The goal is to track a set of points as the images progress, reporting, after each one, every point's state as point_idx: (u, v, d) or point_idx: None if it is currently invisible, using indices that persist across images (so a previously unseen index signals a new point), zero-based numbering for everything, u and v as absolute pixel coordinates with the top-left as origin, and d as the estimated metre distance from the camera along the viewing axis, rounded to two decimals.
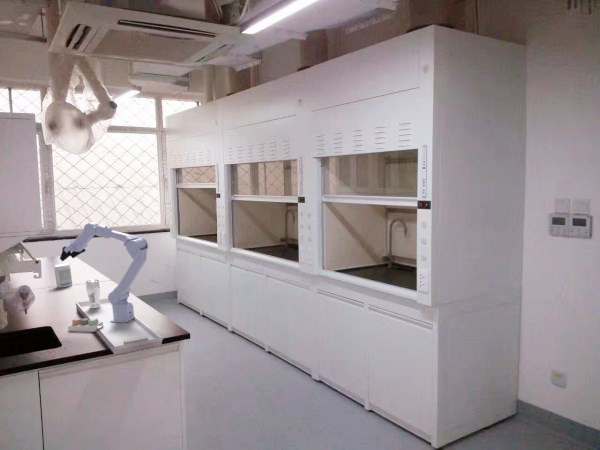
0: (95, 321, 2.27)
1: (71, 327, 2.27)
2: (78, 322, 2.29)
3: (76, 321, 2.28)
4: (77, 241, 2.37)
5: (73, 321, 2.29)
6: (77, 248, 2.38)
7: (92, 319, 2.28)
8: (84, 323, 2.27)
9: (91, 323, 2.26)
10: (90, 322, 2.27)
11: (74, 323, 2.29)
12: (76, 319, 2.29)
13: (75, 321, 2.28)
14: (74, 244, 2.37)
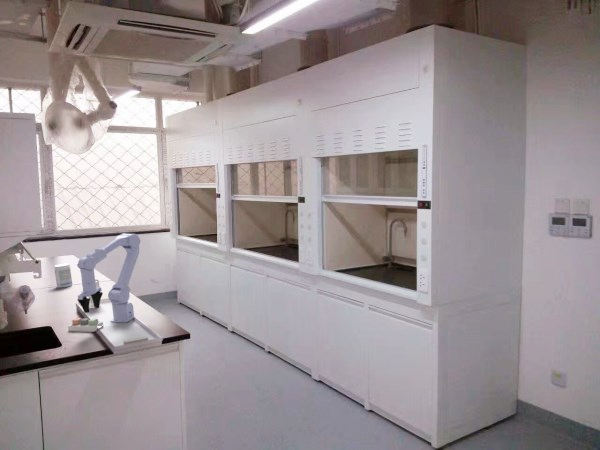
0: (95, 321, 2.27)
1: (71, 327, 2.27)
2: (78, 322, 2.29)
3: (76, 321, 2.28)
4: (84, 284, 2.23)
5: (73, 321, 2.29)
6: (89, 290, 2.23)
7: (92, 319, 2.28)
8: (84, 323, 2.27)
9: (91, 323, 2.26)
10: (90, 322, 2.27)
11: (74, 323, 2.29)
12: (76, 319, 2.29)
13: (75, 321, 2.28)
14: (84, 289, 2.23)
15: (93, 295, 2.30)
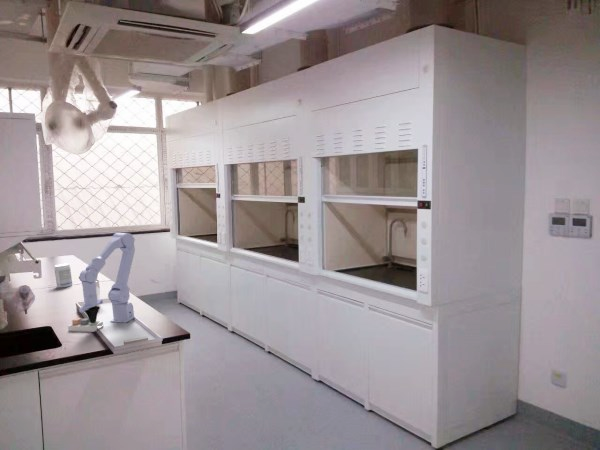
0: (95, 324, 2.27)
1: (71, 327, 2.27)
2: (78, 322, 2.29)
3: (76, 321, 2.28)
4: (85, 297, 2.24)
5: (73, 321, 2.29)
6: (91, 303, 2.24)
7: None
8: (84, 323, 2.27)
9: None
10: None
11: (74, 323, 2.29)
12: (76, 319, 2.29)
13: (75, 321, 2.28)
14: (86, 302, 2.24)
15: None
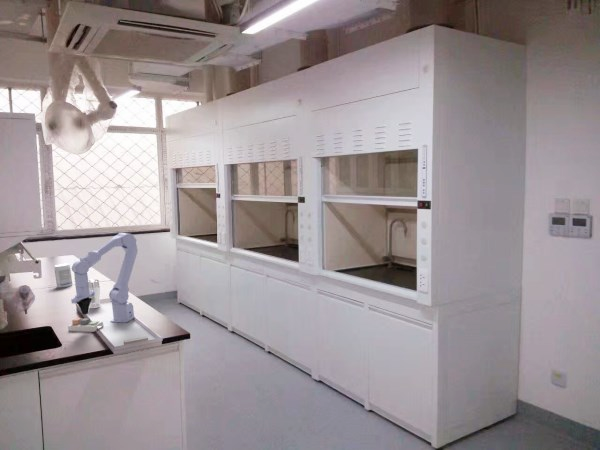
0: (95, 324, 2.27)
1: (71, 327, 2.27)
2: (78, 322, 2.29)
3: (76, 321, 2.28)
4: (77, 288, 2.24)
5: (73, 321, 2.29)
6: (83, 294, 2.24)
7: (92, 322, 2.28)
8: (84, 323, 2.27)
9: None
10: None
11: (74, 323, 2.29)
12: (76, 319, 2.29)
13: (75, 321, 2.28)
14: (78, 293, 2.24)
15: None
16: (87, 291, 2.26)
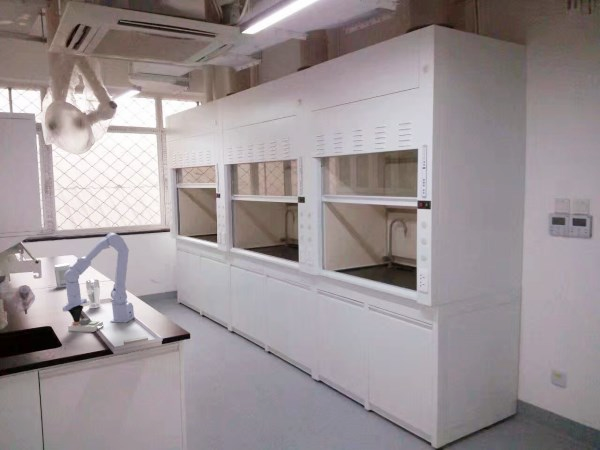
0: (95, 324, 2.27)
1: (71, 327, 2.27)
2: (78, 324, 2.29)
3: (76, 323, 2.28)
4: (69, 296, 2.26)
5: (73, 323, 2.29)
6: (74, 302, 2.26)
7: (92, 322, 2.28)
8: (84, 323, 2.27)
9: None
10: None
11: None
12: None
13: (75, 323, 2.29)
14: (69, 301, 2.26)
15: None
16: (78, 299, 2.28)
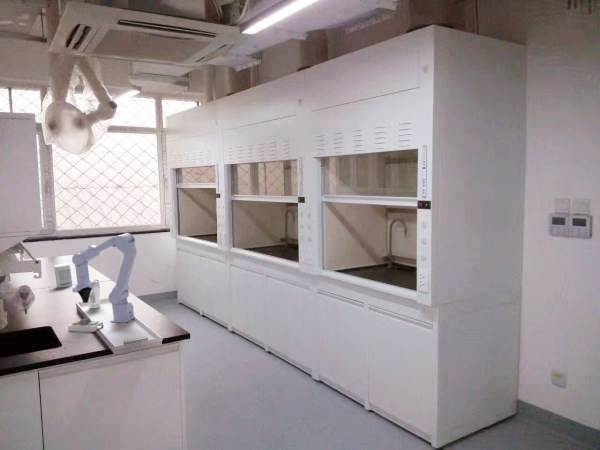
0: (95, 324, 2.27)
1: (71, 327, 2.27)
2: None
3: (76, 324, 2.28)
4: (78, 278, 2.37)
5: (73, 324, 2.29)
6: (83, 284, 2.38)
7: (92, 322, 2.28)
8: (84, 323, 2.27)
9: None
10: None
11: None
12: (76, 322, 2.30)
13: (75, 324, 2.29)
14: (78, 283, 2.38)
15: None
16: (87, 281, 2.39)
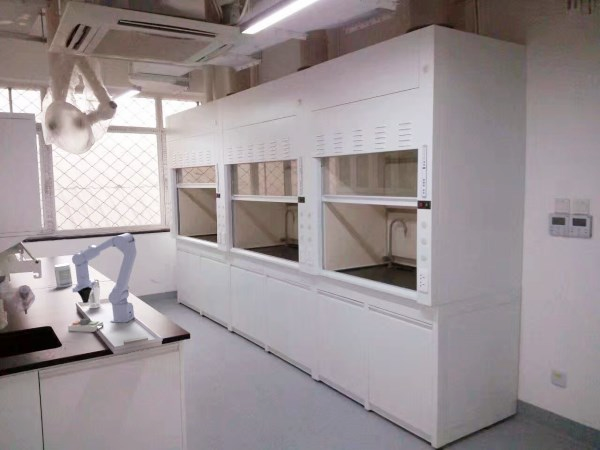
0: (95, 324, 2.27)
1: (71, 327, 2.27)
2: None
3: (76, 324, 2.28)
4: (78, 278, 2.37)
5: (73, 324, 2.29)
6: (83, 284, 2.38)
7: (92, 322, 2.28)
8: (84, 323, 2.27)
9: None
10: None
11: None
12: (76, 322, 2.30)
13: (75, 324, 2.29)
14: (78, 283, 2.38)
15: None
16: (87, 281, 2.39)
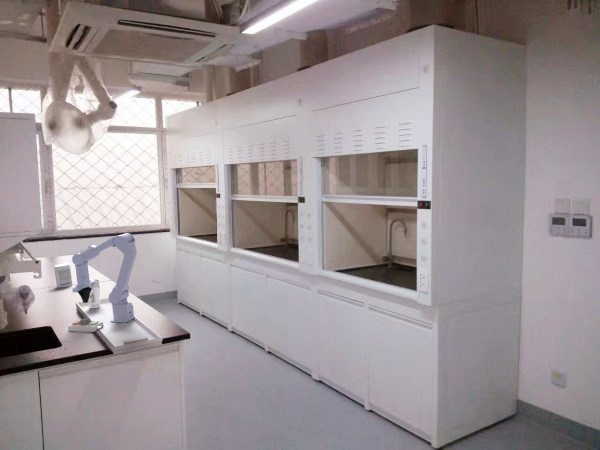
0: (95, 324, 2.27)
1: (71, 327, 2.27)
2: None
3: (76, 324, 2.28)
4: (78, 278, 2.37)
5: (73, 324, 2.29)
6: (83, 284, 2.38)
7: (92, 322, 2.28)
8: (84, 323, 2.27)
9: None
10: None
11: None
12: (76, 322, 2.30)
13: (75, 324, 2.29)
14: (78, 283, 2.38)
15: None
16: (87, 281, 2.39)
